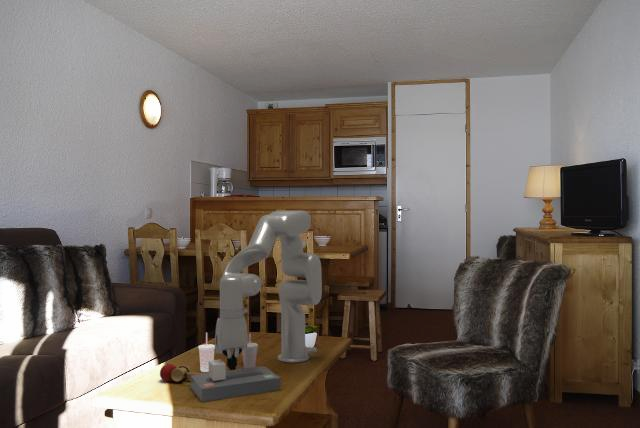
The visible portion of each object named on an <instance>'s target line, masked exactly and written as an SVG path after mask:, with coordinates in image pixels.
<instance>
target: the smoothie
mask: <svg viewBox="0 0 640 428" xmlns="http://www.w3.org/2000/svg"><path fill="white" fill-rule="evenodd" d="M251 336H252V334H251V332H250V333H248V344H247V346H248V349H247V350H245V351H242V352H241V353H242V361H243V369H244V368H252V367H256V363H257V362H256V361H257V354H258V353H257V352H258V348H259V345H258V343H256V342H252V341H251V339H252V337H251Z"/></svg>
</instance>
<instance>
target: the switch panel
mask: <svg viewBox="0 0 640 428" xmlns="http://www.w3.org/2000/svg"><path fill="white" fill-rule="evenodd" d="M225 372H226V379H224V380H217V381H213V380H212V379H211V378H210V377H209V372H205V373H206V374H199V375H191V376H190V378H189V381H190V383H189V385H190V389H191V390H192V391H193V393H194V394H195V395H196V397H197V398H198V399H199V401H201V403H203V402H204V403H205V402H211V401H218V400H224V399H231V398H237V397H245V396H251V395H256V394H257V395H258V394H264V393H270V392H275V391H281V377H280V376H279V375H277V374H276V373H274V372H273V371H272V370H270V369H269V368H267V367H266V366H264V365H259V366H255V367H252V368H244V367H243V368H238V369H237V368H236V370H230V369H228V370H225Z"/></svg>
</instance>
